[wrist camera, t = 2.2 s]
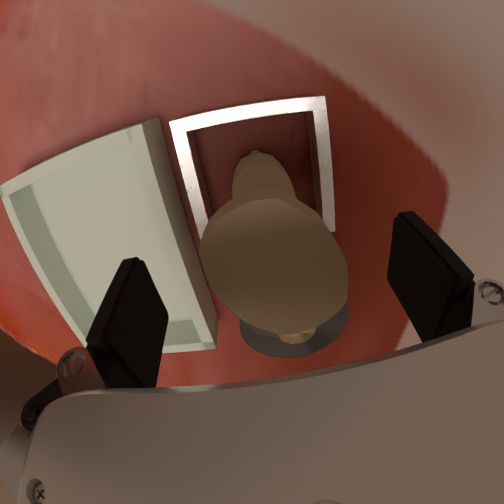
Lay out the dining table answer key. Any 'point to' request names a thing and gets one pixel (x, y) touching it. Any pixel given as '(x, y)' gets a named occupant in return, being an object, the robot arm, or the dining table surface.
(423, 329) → the robot arm
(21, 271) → the dining table surface
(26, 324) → the dining table surface
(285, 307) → the handle
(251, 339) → the bracket
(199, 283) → the tray
